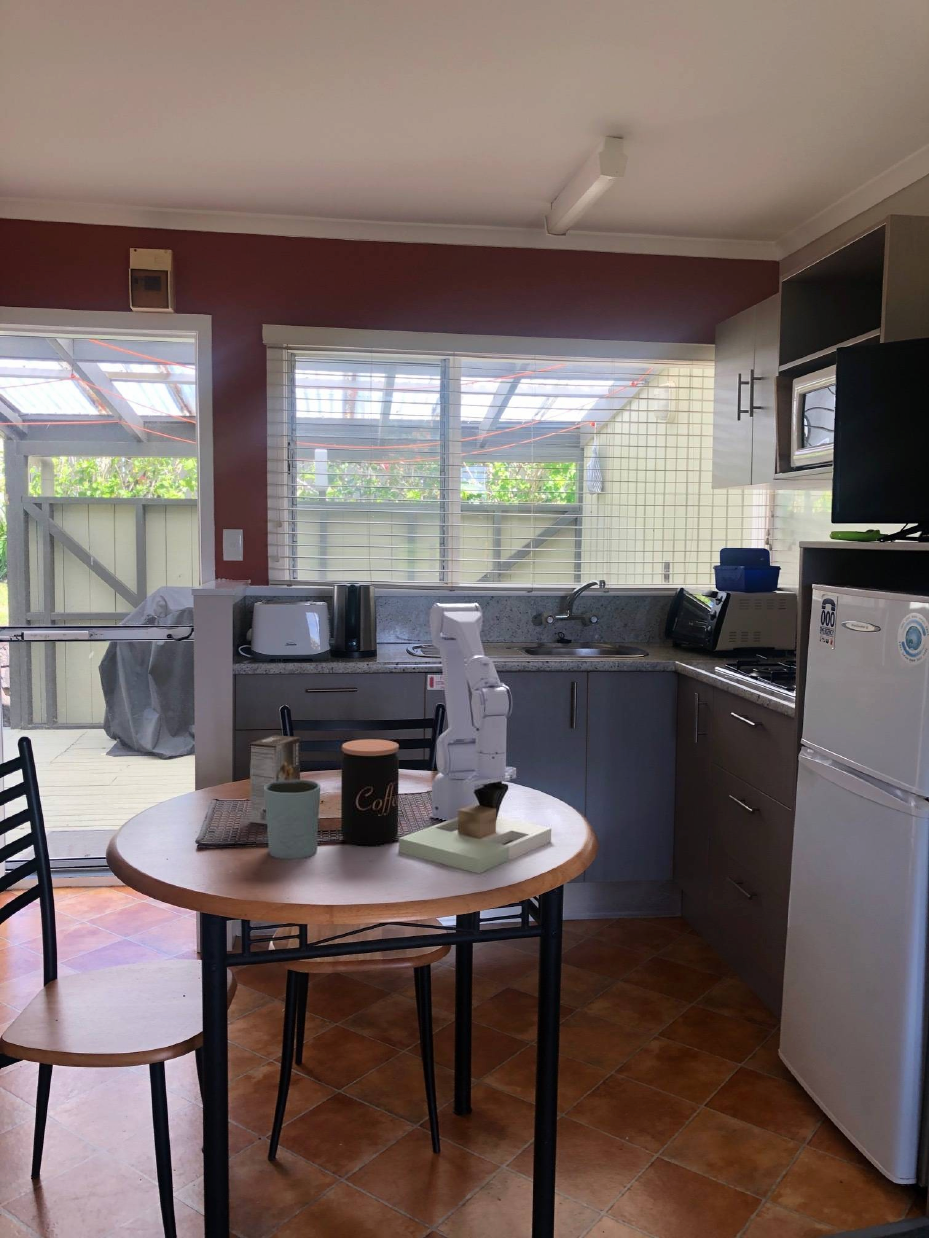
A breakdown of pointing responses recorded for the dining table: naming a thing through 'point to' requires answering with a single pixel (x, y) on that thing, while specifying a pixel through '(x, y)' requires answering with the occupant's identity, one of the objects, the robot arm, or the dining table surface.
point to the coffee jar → (369, 792)
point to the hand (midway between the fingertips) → (489, 822)
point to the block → (477, 821)
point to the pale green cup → (292, 818)
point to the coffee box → (271, 768)
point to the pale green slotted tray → (474, 844)
